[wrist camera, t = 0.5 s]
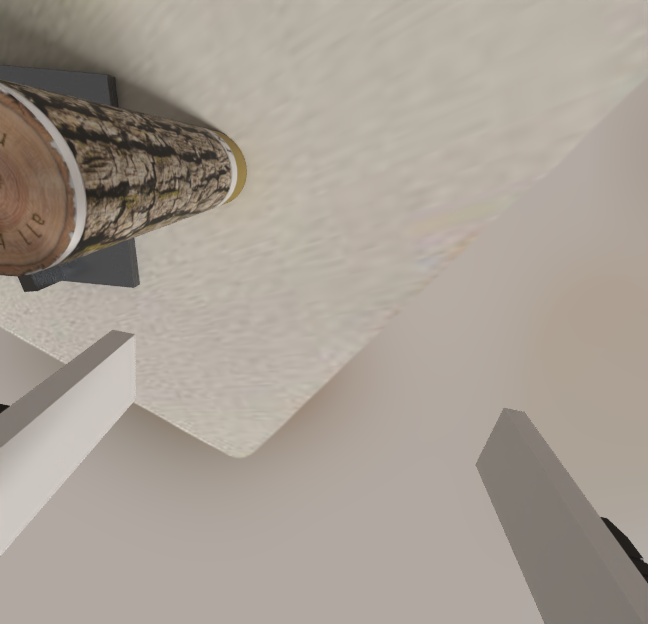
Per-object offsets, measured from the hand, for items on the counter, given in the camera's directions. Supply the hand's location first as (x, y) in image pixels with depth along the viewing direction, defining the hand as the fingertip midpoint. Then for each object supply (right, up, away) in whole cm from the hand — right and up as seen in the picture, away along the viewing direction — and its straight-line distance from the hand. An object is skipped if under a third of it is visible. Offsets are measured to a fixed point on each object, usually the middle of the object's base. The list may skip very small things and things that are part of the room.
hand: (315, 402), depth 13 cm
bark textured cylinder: (-11, +18, +23) cm, 31 cm away
